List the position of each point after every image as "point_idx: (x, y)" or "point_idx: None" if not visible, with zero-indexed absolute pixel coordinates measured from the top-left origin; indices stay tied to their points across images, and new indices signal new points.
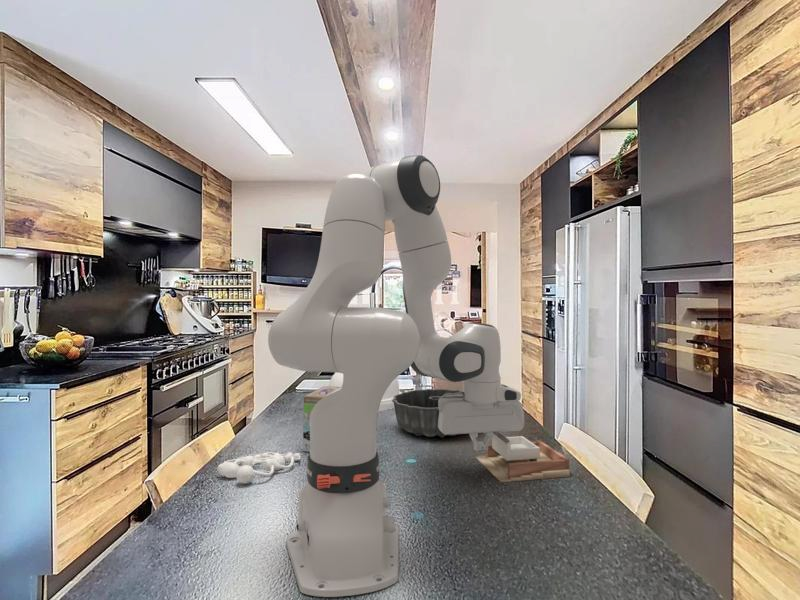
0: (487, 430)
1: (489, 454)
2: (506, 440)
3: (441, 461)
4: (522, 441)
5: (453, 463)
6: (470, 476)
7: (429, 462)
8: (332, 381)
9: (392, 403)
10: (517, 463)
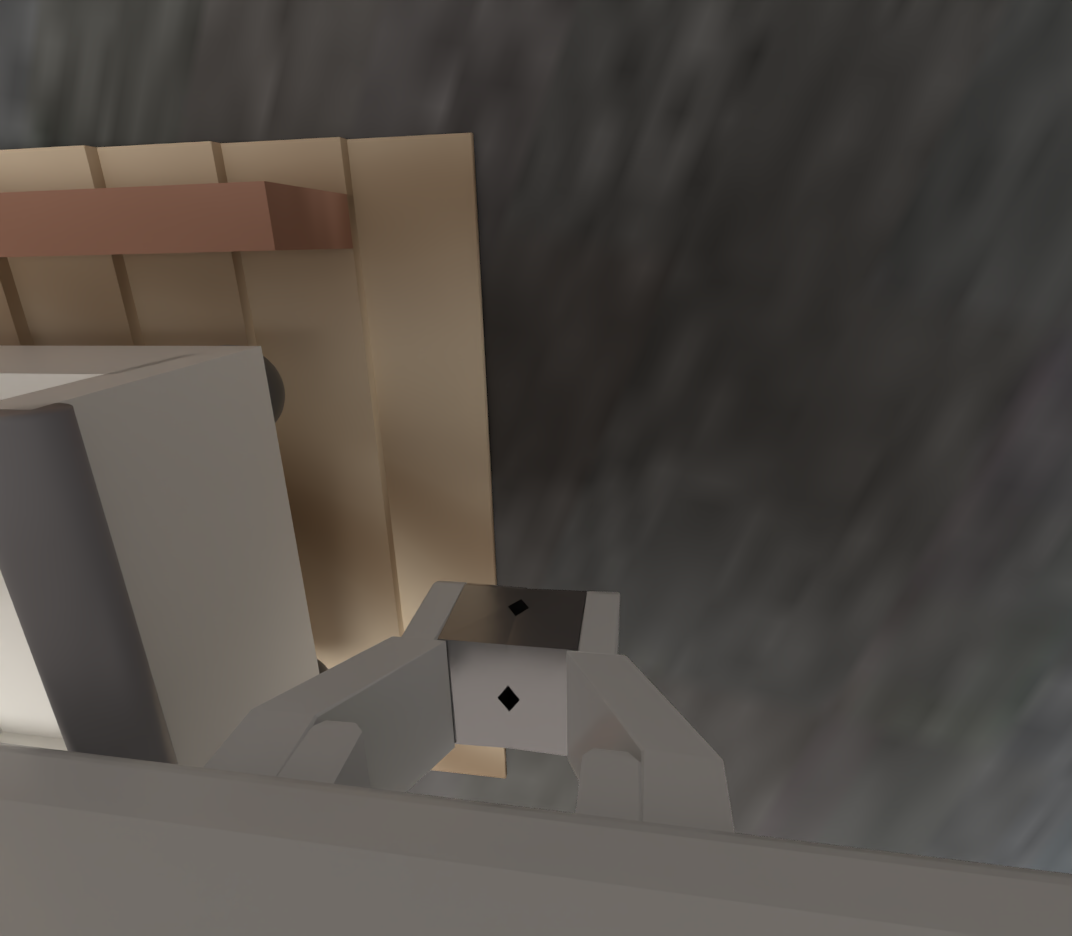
0: (298, 813)
1: None
2: (10, 420)
3: (863, 774)
4: None
5: (768, 706)
6: (744, 367)
7: (998, 785)
8: None
9: None
10: (152, 217)
